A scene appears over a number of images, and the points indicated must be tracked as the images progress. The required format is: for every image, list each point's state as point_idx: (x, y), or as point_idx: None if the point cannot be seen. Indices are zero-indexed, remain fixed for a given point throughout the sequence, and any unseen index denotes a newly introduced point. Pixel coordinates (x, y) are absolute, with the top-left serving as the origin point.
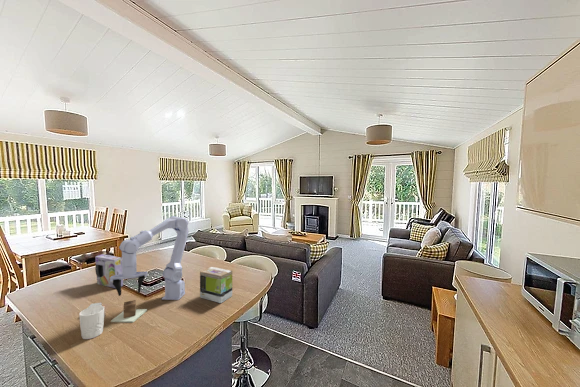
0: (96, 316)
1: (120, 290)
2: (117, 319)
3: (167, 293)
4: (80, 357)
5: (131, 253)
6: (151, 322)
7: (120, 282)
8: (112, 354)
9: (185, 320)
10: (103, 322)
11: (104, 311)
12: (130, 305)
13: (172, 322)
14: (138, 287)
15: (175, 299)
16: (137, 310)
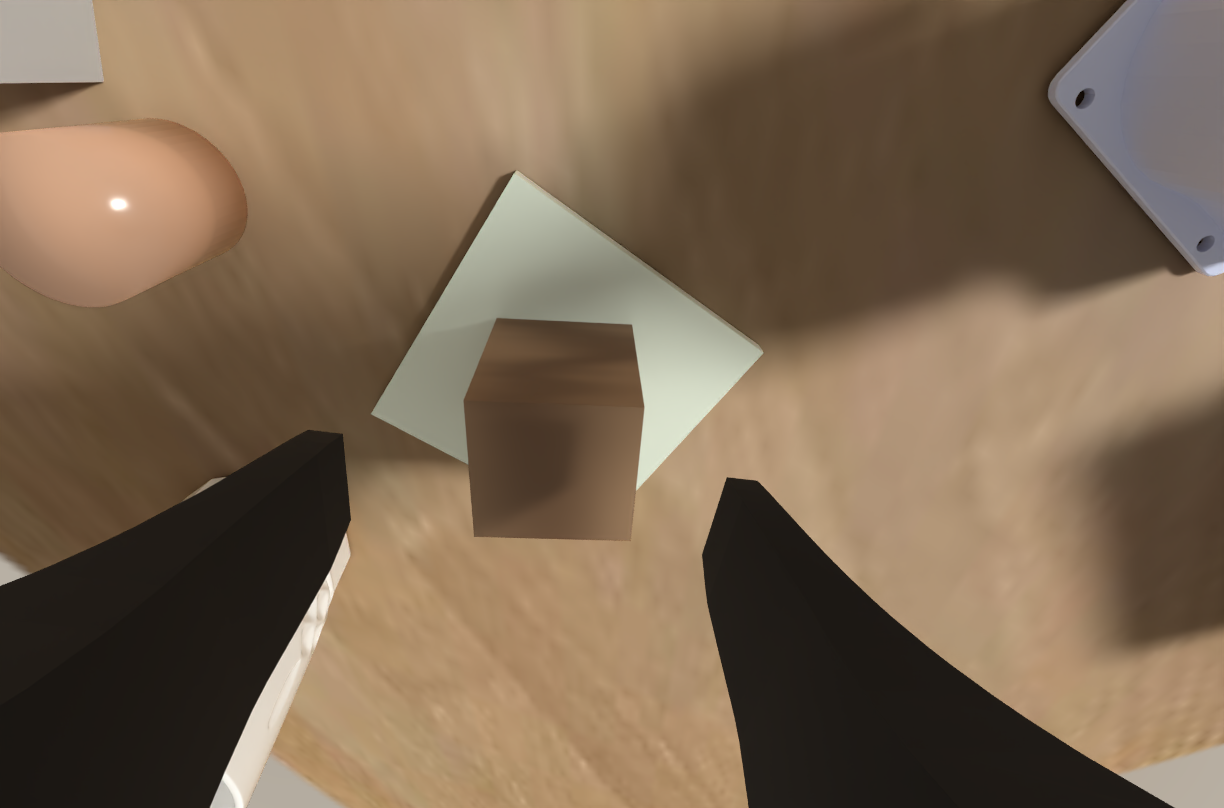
0: (221, 804)
1: (291, 556)
2: (438, 425)
3: (1213, 155)
4: (310, 730)
5: None
6: None
7: (91, 761)
8: (489, 769)
9: (973, 671)
10: (319, 623)
11: (196, 247)
12: (566, 532)
13: None
14: (735, 696)
15: (1180, 249)
16: (652, 319)
